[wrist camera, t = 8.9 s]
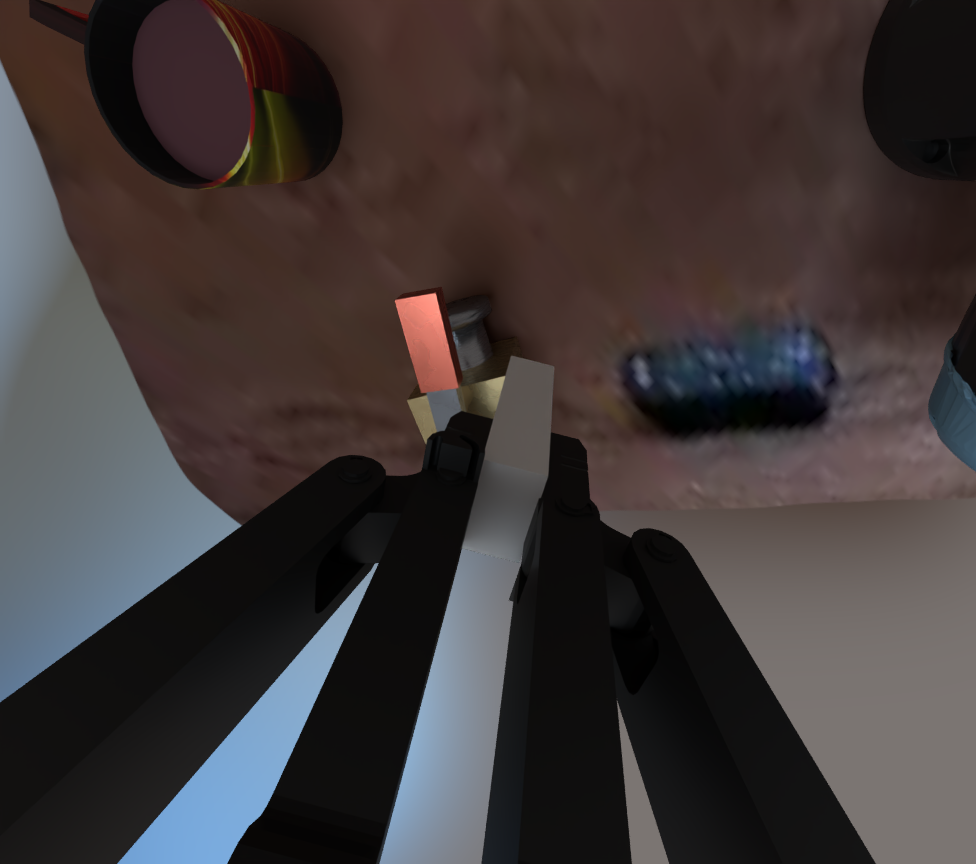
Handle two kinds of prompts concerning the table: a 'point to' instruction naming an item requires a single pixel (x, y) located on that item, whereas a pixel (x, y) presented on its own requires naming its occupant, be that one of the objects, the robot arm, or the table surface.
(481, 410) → the valve
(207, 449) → the table surface
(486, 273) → the table surface
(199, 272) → the table surface
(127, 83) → the mug
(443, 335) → the lever
